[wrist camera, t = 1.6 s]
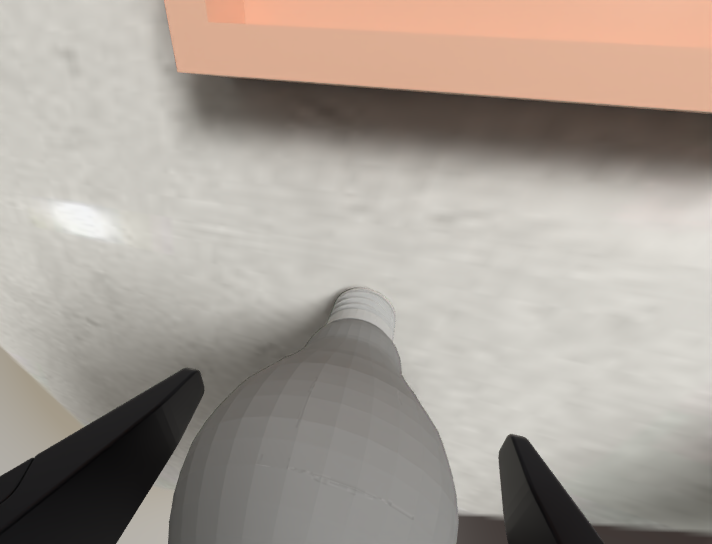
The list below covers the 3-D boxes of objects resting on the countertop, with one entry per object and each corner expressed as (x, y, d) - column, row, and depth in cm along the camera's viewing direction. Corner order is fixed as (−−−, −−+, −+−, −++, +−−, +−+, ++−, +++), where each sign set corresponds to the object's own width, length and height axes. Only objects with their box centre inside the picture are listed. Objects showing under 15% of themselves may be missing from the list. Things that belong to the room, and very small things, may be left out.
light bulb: (273, 268, 13) (-18, 608, 4) (411, 222, 11) (380, 700, 2) (333, 369, 15) (222, 719, 7) (455, 347, 13) (522, 810, 5)
